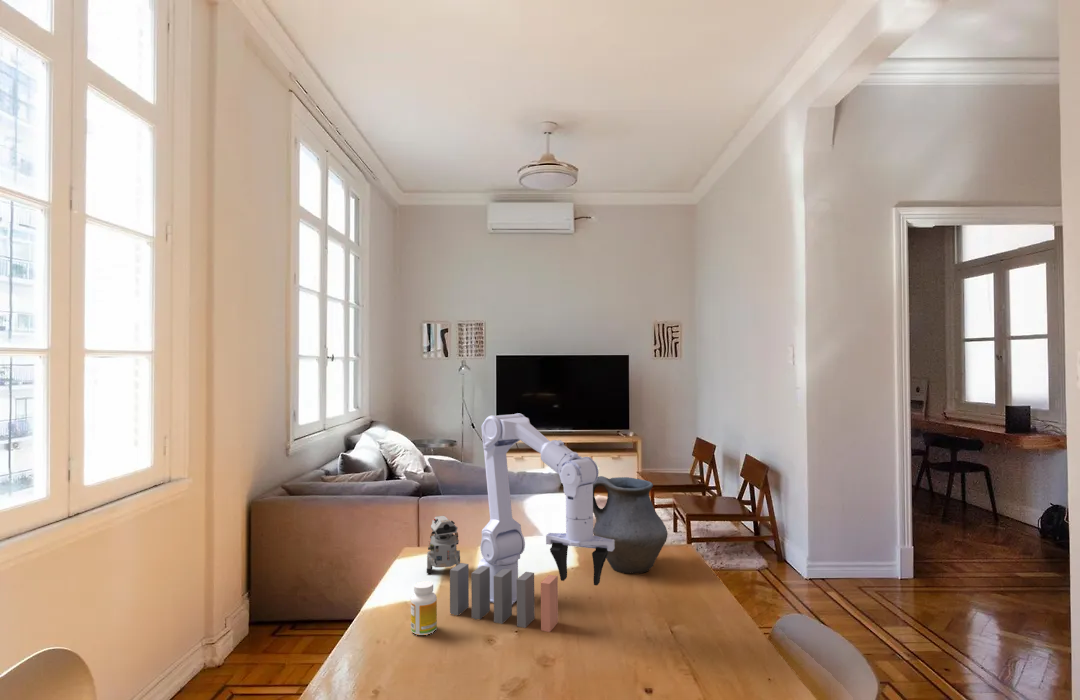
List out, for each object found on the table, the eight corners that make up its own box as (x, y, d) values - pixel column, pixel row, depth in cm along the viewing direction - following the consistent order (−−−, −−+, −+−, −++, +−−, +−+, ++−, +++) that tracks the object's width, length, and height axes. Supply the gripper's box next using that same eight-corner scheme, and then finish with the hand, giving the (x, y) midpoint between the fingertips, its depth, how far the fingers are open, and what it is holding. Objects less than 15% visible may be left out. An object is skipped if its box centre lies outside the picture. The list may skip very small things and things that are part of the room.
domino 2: (471, 618, 131) (471, 572, 131) (482, 609, 136) (481, 565, 136) (479, 619, 130) (479, 574, 130) (489, 611, 135) (489, 566, 135)
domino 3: (493, 622, 129) (493, 576, 129) (503, 613, 134) (503, 568, 134) (502, 623, 128) (501, 577, 128) (511, 614, 133) (511, 569, 133)
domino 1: (450, 614, 133) (449, 569, 133) (461, 606, 138) (460, 562, 138) (457, 616, 132) (457, 570, 133) (468, 607, 137) (468, 563, 137)
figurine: (424, 582, 153) (424, 524, 153) (428, 567, 164) (428, 513, 165) (459, 581, 154) (459, 523, 154) (461, 566, 165) (461, 512, 166)
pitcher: (675, 581, 152) (674, 484, 153) (590, 581, 152) (589, 484, 153) (660, 555, 173) (659, 469, 173) (585, 556, 173) (584, 470, 174)
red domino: (541, 630, 125) (540, 582, 125) (549, 621, 129) (548, 574, 130) (549, 632, 124) (549, 583, 124) (557, 622, 129) (557, 575, 129)
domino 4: (516, 626, 127) (516, 579, 127) (526, 617, 131) (525, 571, 132) (525, 627, 126) (525, 580, 126) (534, 618, 131) (534, 572, 131)
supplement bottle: (441, 627, 127) (441, 581, 127) (428, 638, 122) (428, 590, 122) (419, 623, 128) (419, 578, 129) (405, 634, 123) (405, 587, 124)
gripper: (540, 517, 124) (541, 583, 123) (608, 524, 118) (608, 592, 118) (552, 510, 130) (552, 572, 130) (616, 515, 125) (617, 580, 125)
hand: (580, 581), depth 124 cm, fingers open, 7 cm apart
